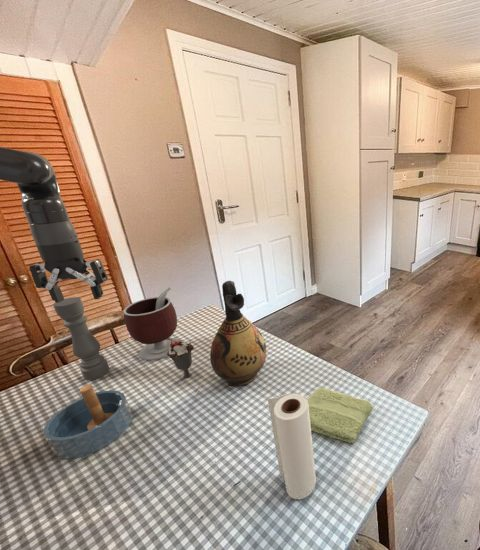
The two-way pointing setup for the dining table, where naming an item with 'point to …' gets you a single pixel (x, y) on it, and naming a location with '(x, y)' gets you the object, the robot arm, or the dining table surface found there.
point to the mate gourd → (152, 325)
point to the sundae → (181, 356)
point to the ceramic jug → (237, 343)
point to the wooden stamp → (94, 407)
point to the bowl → (73, 426)
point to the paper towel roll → (293, 443)
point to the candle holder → (82, 338)
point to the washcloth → (337, 414)
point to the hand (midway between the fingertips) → (79, 299)
